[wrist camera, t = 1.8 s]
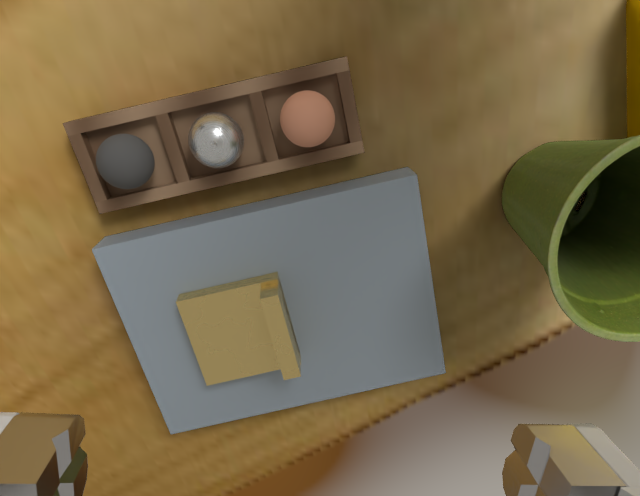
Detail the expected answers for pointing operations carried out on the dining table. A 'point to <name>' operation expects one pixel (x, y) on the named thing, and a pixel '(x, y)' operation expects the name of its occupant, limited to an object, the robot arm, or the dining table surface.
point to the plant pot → (584, 228)
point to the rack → (235, 101)
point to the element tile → (633, 67)
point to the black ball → (125, 161)
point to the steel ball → (216, 140)
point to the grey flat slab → (286, 295)
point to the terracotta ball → (307, 118)
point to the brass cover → (241, 329)
